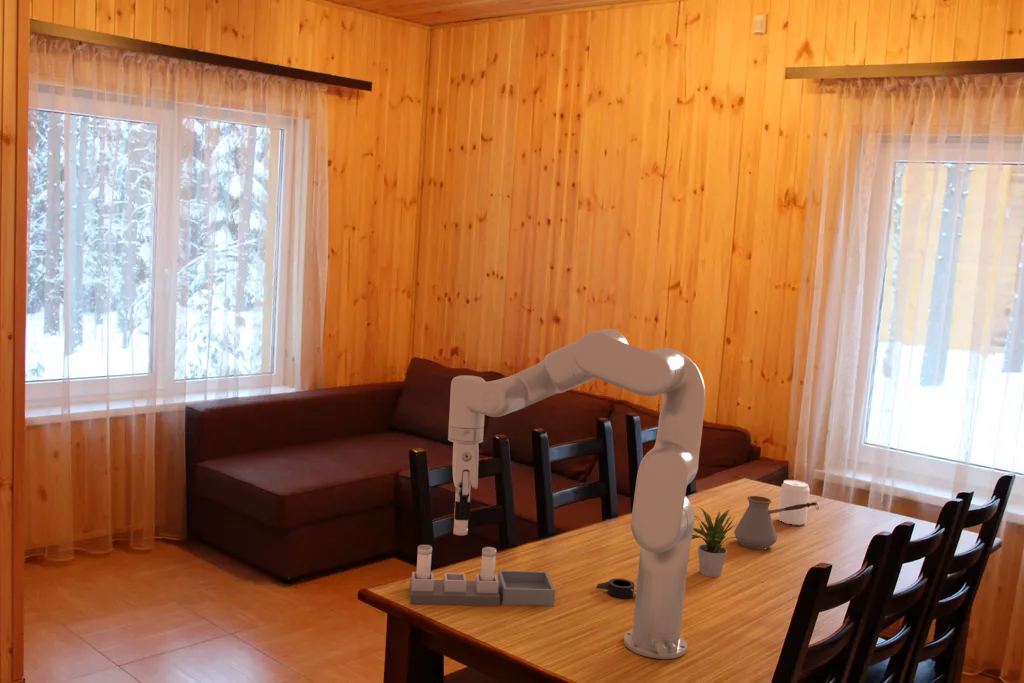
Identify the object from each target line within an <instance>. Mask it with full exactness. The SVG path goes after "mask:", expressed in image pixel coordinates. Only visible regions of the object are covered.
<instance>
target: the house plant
mask: <svg viewBox="0 0 1024 683" xmlns="http://www.w3.org/2000/svg"><path fill="white" fill-rule="evenodd" d="M698 508H699V509H700V510H701V511H702V513H703V516H704V519H705V522H706V523H705V522H704V521H702V520H701V519H700V518H699V517H698V516H696V515H694V520H697V522H698V526H699V528H696V527H694V529H693V534H692V540H695V539H698V538H699V539H701V542H702V543H703V544H700V545H698V546H697V551H698V567H699V574H701V575H702V576H705V577H710V578H716V577H720V576H721V575H722V571H723V568H724V564H725V561H726V556H727V553H728V549H726V548H725V547H723V546H724V545H725V544H723V543H725V542H726V541H728V540H729V539H734V538H735V539H737V538H738V537H735V536H732V537H729V538H727V539H725V538H726V536H727V535H726V534H727V533H728V532H729V531H730V530H732V528H734V527H735V526H737V525H738V524H737V523H736V524H734V525H732V526H731V524H732V523H733V521H734V519H735V518H732V519H731V517H732V514H730V515H729V517H728V518H727V520H726V517H727V516H728V514H729V512H730V511H731V509H728V510H725V511H724V513H722V514H721V511H719V512H718V513H717V516H716V517H715V519H714V523H713V521H712V517H711V515H710V514H709V513H707V512H706V511H705V510H704V509H703V508H702V507H699V506H698ZM730 519H731V521H730ZM725 520H726V521H725ZM724 522H725V523H724ZM723 524H724V525H723ZM730 526H731V527H730ZM695 533H696V534H695ZM697 534H699V535H697ZM702 536H703V537H704V538H703V537H702ZM738 539H739V538H738ZM703 541H704V542H705V543H704V542H703Z"/></svg>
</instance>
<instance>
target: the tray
mask: <svg viewBox="0 0 1024 683" xmlns="http://www.w3.org/2000/svg"><path fill="white" fill-rule="evenodd" d="M497 578H498V581H499V585H498V592H499V596H500V599H501V603H502V605H510V606H541V607H542V606H547V607H548V606H549V607H550V606H551V607H552V606H553V607H554V606H555V596H556V595H555V594H556V589H555V587H554V584H553V582H552V580H551V578H550V576H549V573H548V571H536V570H535V571H532V570H531V571H529V570H500V569H498V571H497Z"/></svg>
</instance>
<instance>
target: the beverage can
mask: <svg viewBox="0 0 1024 683" xmlns="http://www.w3.org/2000/svg"><path fill="white" fill-rule="evenodd" d="M810 491H811V490H810V486H809V483H807V482H804V481H801V480H794V479H785V480H783V483H782V484H781V488H780V495H779V503H778V504H779V505H778V509H781V508H786V507H790V506H794V505H798V504H807V503H809V499H810ZM808 509H809V507H804V508H801V509H796V510H788V511H781V512H777V514H778V515H777V519H778V521H780V522H781V521H782V522H781V523H783V522H784V523H783V524H785V523H787V524H786V525H788V524H792V525H791V526H795V525H799V526H802V525H805V524H806V523H807V517H808V516H807V515H808Z"/></svg>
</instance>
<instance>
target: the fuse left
mask: <svg viewBox="0 0 1024 683" xmlns="http://www.w3.org/2000/svg"><path fill="white" fill-rule="evenodd" d="M432 553H433V546H432V545H430V544H420V545H418V546H417V558H416V559H417V560H416V571H415V572H416V579H430V572H431V567H432V555H433V554H432Z"/></svg>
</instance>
